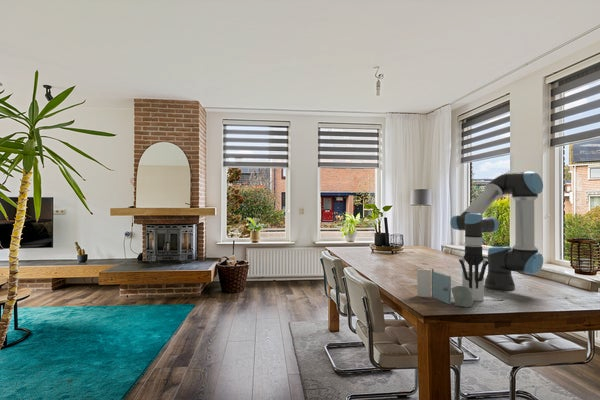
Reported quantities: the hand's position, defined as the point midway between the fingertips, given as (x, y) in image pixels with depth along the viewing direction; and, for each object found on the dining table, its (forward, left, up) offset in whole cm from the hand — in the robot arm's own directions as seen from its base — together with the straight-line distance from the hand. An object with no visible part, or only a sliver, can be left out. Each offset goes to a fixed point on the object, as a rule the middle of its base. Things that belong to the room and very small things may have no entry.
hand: (473, 295), depth 166 cm
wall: (+9, -8, -4) cm, 13 cm away
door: (+15, -2, -4) cm, 15 cm away
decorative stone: (+5, +1, -5) cm, 7 cm away
